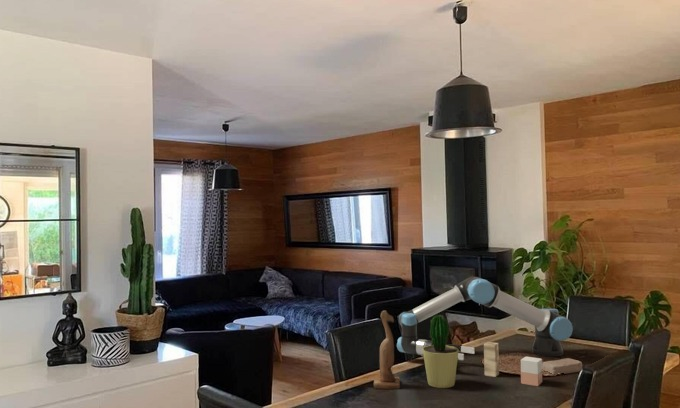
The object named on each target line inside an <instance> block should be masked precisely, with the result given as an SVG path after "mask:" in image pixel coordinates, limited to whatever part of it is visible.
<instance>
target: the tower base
mask: <svg viewBox="0 0 680 408" xmlns="http://www.w3.org/2000/svg"><path fill="white" fill-rule="evenodd" d="M520 383H521V384H523V385H529V386H534V387H538V386H540V385H541V384H542V383H543V370H542V371H541V372H540V373H539V374H532V373H526V372H521V371H520Z"/></svg>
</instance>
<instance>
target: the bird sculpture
mask: <svg viewBox="0 0 680 408" xmlns="http://www.w3.org/2000/svg"><path fill="white" fill-rule="evenodd" d="M380 319H381V322H382V324H383V327H384V328H383V329H384V331H385V339H383V341H382V342H381V344H380V346H379V376H374V377H373V390H375V389H376V390H377V389H379V390H384V389H385V390H400V385H401V384H400V377H399V376H395V375H394V373H393V371H392V367H394V364H395V344H394V343H395V341H394V336H393V332H392V330H391V328H390V325H389V323H393V324H394V323H395V319H394V316H393V315H390V314H389V313H388V311H387V310H382V311H381V312H380Z"/></svg>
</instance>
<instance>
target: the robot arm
mask: <svg viewBox="0 0 680 408" xmlns="http://www.w3.org/2000/svg"><path fill="white" fill-rule="evenodd" d="M469 300H472V301H473V302H475V303H477V304H481V305H482V306H484V307H487V308H492V307H493V308H495V309H499V310H500V311H502V312H505V313H507V314H509V315H511V316H513V317H516V318H517V319H519V320H522V321H523V322H525V323H528V324H530V325H532V326H534V341H533V343H532V345H531V353H532V354H533V355H534V354H535V355H537V356H542V357H553V358H555V357H560V356H563V355H564V349H563V347H562V346H563V345H562V344H561V342H563V341H566V340H568V339H569V338H570V337H571V336H572V334H573V330H574V328H573V327H574V326H573V324H572V322H571V321H570V320H569V318H567V317H566V316H562V315H560V314H559V310H558V309H557V308H538V307H536V306H535V305H532V304H530V303H527V302H525V301H524V300H521V299H519V298H516V297H515V296H513V295H510V294H508V293H507V292H504V291H502V290H501V289H500V287H499V286H498V285H497V284H494V283H492V282H490V281H488V279H483V278H481V277H479V276H470V277H467V278H466V279H464V280H463V281H461V282H458V283H457V284H455V285H454V287H453V288H452V289H450V290H448V291H446V292H443V293H441V294H440V295H438V296H436V297H434V298H431V299H430V300H428V301H426V302H424V303H422V304H420V305H419V306H416V307H415V308H413V309H411V310H408V311H403V312H401V313H400V314H399V317H398V323H399V325H400V326H401V336H400V337H398V339H397V343H396V348H397V350H398V351H399V352H400V353H405V354H412V355H418V356H421V357H424V355H423V348H424V347H426V346H431V345H433V343H432V340H429V339H428V340H427V339H423V338H422V339H420V338H418V327H417V326H418V323H421V322H423V321H424V320H427V319H429V318H432V317H434V316H436V315H438V313H440V312H443V311H445V310H447V309H449V308H451V307H452V306H455V305H456V304H458V303H461V302H463V303H465V302H466V301H469ZM446 346H452V347H456V348H458V349H459V351H458V359H457V361H464V360H465V354H464V353H467V354H473V355H474V354H475V353H476V352H475V347H472V346H471V347H470V346H463V345H462V344H461V343H460V344H446Z"/></svg>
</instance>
